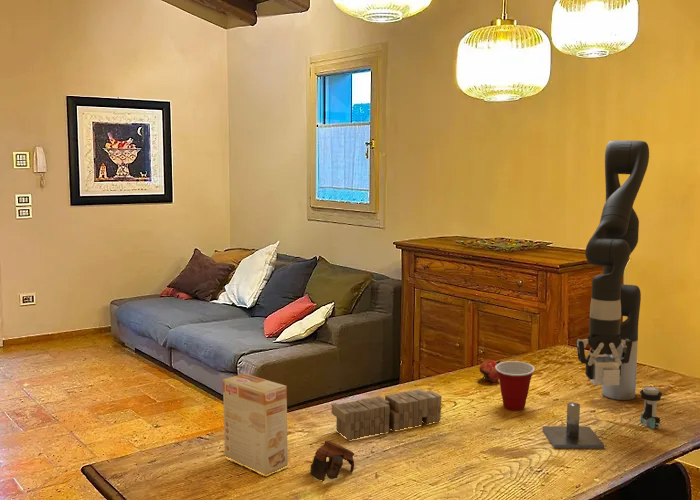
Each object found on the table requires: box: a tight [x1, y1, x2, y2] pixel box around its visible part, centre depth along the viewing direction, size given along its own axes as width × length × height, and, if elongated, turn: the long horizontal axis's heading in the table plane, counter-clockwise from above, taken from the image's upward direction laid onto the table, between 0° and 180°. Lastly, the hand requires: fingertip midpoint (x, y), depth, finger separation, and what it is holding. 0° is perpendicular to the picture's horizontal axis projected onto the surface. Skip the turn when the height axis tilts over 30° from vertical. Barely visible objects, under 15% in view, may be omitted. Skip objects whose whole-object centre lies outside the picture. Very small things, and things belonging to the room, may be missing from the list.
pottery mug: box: [309, 440, 355, 482], centre depth 160 cm, size 12×10×8 cm
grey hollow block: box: [587, 355, 620, 386], centre depth 185 cm, size 10×6×6 cm, turn 178°
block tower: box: [331, 388, 442, 441], centre depth 188 cm, size 8×8×29 cm
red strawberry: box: [477, 359, 501, 383], centre depth 227 cm, size 7×7×10 cm
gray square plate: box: [542, 401, 605, 450], centre depth 179 cm, size 12×12×9 cm
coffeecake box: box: [222, 373, 289, 475], centre depth 165 cm, size 15×7×20 cm, turn 47°
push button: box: [639, 386, 663, 430], centre depth 188 cm, size 7×5×10 cm
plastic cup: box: [495, 360, 536, 412], centre depth 202 cm, size 11×11×12 cm
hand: (602, 378), depth 187 cm, fingers closed on grey hollow block, 6 cm apart
